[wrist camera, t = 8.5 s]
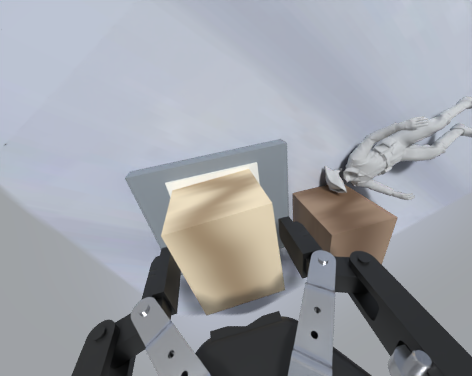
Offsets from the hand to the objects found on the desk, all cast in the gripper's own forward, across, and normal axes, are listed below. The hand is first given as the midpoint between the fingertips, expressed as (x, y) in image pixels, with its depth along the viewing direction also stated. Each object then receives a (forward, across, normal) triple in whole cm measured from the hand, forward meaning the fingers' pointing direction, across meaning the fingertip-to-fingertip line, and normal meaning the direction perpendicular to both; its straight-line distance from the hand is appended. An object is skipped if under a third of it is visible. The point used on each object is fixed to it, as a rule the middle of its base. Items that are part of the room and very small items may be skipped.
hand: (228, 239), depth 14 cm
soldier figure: (+3, -22, -4) cm, 22 cm away
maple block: (+2, 0, 0) cm, 2 cm away
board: (+4, 0, 0) cm, 4 cm away
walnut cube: (+4, -9, +2) cm, 10 cm away
